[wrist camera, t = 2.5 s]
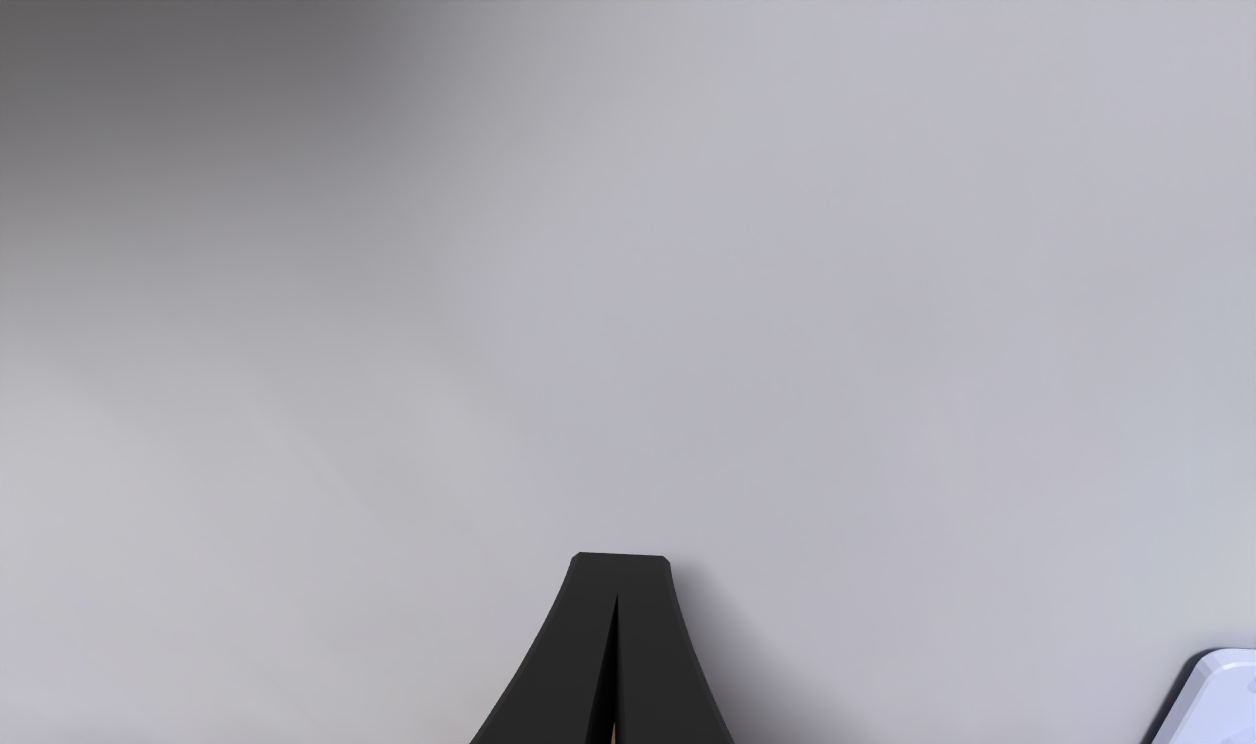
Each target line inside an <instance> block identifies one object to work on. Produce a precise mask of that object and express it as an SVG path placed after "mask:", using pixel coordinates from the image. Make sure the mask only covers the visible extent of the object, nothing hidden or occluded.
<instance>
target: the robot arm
mask: <svg viewBox="0 0 1256 744" xmlns="http://www.w3.org/2000/svg"><path fill="white" fill-rule="evenodd" d="M614 722H615V744H734V741H733V739H732V737H731V735H730V733H729V731H728V729H727V727H726V724H725V722H724V720H723V718H722V716H721V714H720V712H719V709H718V707H717V705H716V703H715V700H714V698H713V696H712V694H711V691H710V689H709V686H708V684H707V681H706V679H705V676H704V674H703V671H702V669H701V667H700V664H699V662H698V659H697V657H696V654H695V652H694V649H693V646H692V643H691V641H690V638H689V635H688V632H687V629H686V626H685V623H684V620H683V617H682V614H681V610H680V607H679V604H678V600H677V596H676V592H675V588H674V584H673V579H672V574H671V567H670V562H669V561H668V560H667V559H666V558H665V557H664V556H653V555H631V554H610V553H589V552H579V553H578V554H576V555H575V556H574V557H572V559H571V563H570V566H569V569H568V571H567V574H566V576H565V579H564V581H563V584H562V586H561V588H560V591H559V593H558V595H557V597H556V599H555V602H554V604H553V606H552V608H551V610H550V612H549V614H548V616H547V618H546V620H545V622H544V624H543V626H542V627H541V629H540V631H539V633H538V635H537V636H536V638H535V640H534V642H533V644H532V645H531V647H530V649H529V651H528V652H527V654H526V656H525V658H524V660H523V661H522V663H521V665H520V667H519V668H518V670H517V672H516V673H515V675H514V677H513V678H512V680H511V681H510V683H509V685H508V686H507V688H506V689H505V691H504V692H503V694H502V695H501V697H500V699H499V700H498V702H497V703H496V705H495V706H494V708H493V709H492V711H491V713H490V714H489V716H488V717H487V719H486V720H485V722H484V723H483V725H482V726H481V728H480V729H479V731H478V732H477V734H476V735H475V737H474V738H473V739H472V741H471V742H470V744H611V743H612V736H613V729H614ZM1152 744H1256V649H1235V648H1228V649H1219V650H1216V651H1213V652H1210V653H1209V654H1207V655H1205V656H1204V657H1202V658H1201V660H1200V661H1199V662H1198V663H1197V664H1196V666H1195V668H1194V670H1193V671H1192V673H1191V675H1190V677H1189V678H1188V680H1187V682H1186V684H1185V686H1184V687H1183V689H1182V691H1181V693H1180V694H1179V696H1178V698H1177V700H1176V701H1175V703H1174V705H1173V707H1172V708H1171V710H1170V712H1169V714H1168V715H1167V717H1166V719H1165V721H1164V723H1163V724H1162V726H1161V728H1160V730H1159V731H1158V733H1157V735H1156V737H1155V738H1154V740H1153V742H1152Z"/></svg>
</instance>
